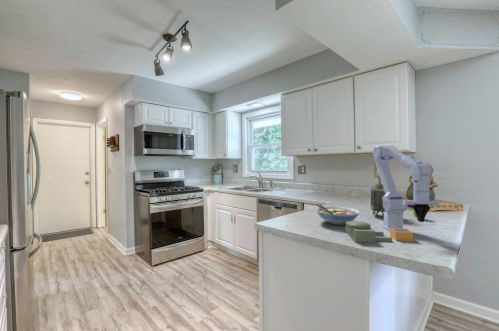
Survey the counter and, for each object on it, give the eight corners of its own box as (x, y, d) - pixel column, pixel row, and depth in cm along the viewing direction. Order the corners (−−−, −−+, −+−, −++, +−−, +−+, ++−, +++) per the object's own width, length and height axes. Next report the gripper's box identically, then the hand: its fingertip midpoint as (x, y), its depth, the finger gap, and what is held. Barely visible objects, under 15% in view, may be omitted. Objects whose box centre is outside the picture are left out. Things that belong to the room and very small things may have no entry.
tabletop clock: (370, 213, 160) (371, 175, 160) (386, 214, 157) (386, 176, 156) (373, 218, 147) (373, 177, 146) (390, 219, 143) (390, 177, 143)
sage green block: (342, 231, 118) (342, 219, 118) (380, 233, 116) (380, 220, 116) (351, 242, 103) (351, 228, 103) (395, 243, 101) (395, 229, 101)
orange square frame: (390, 236, 112) (390, 227, 111) (406, 237, 110) (406, 228, 110) (395, 240, 106) (395, 231, 106) (413, 241, 104) (413, 232, 104)
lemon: (419, 217, 147) (419, 204, 147) (426, 220, 142) (426, 206, 142) (410, 217, 147) (411, 204, 147) (417, 220, 142) (417, 206, 141)
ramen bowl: (368, 229, 122) (368, 213, 121) (322, 229, 122) (322, 213, 122) (349, 218, 147) (349, 204, 146) (311, 217, 147) (311, 204, 147)
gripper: (408, 191, 103) (408, 223, 104) (445, 192, 102) (444, 224, 102) (400, 189, 110) (399, 219, 111) (434, 190, 109) (433, 220, 109)
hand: (420, 221), depth 107 cm, fingers closed
